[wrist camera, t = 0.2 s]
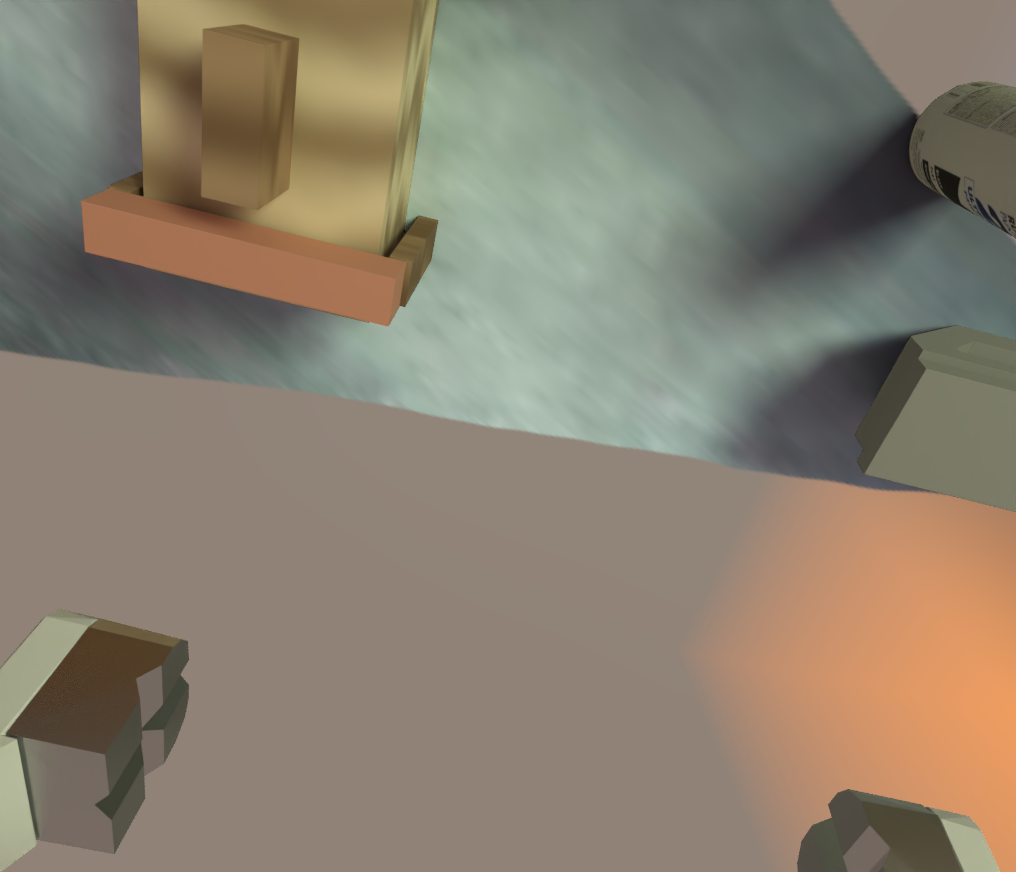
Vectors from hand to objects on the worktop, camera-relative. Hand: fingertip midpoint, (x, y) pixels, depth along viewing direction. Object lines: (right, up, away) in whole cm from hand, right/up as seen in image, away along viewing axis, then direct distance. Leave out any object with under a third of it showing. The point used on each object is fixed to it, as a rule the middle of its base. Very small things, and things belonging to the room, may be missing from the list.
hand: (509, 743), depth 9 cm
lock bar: (-15, +15, +36) cm, 42 cm away
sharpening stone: (+37, +7, +47) cm, 61 cm away
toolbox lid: (-13, +23, +35) cm, 44 cm away
